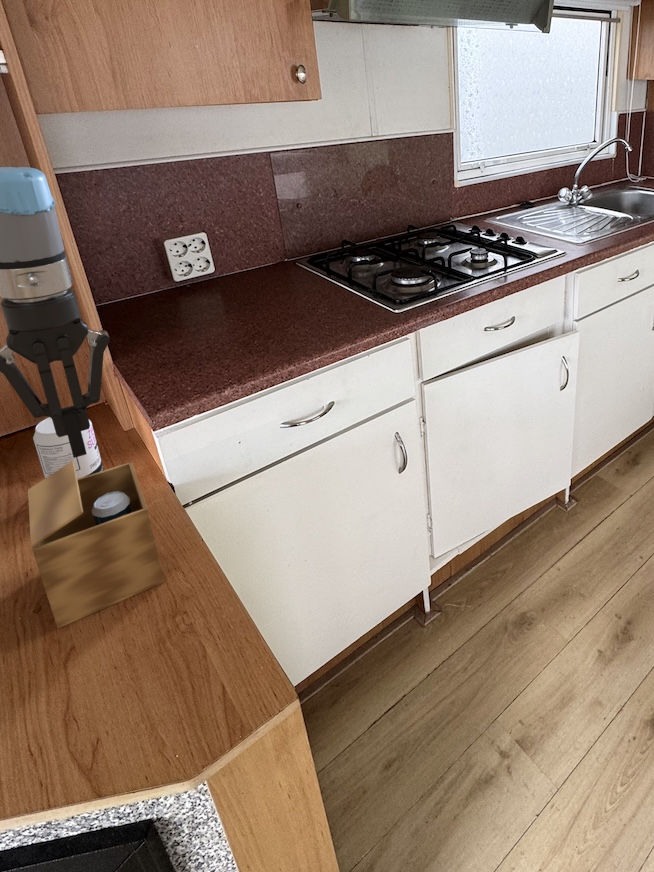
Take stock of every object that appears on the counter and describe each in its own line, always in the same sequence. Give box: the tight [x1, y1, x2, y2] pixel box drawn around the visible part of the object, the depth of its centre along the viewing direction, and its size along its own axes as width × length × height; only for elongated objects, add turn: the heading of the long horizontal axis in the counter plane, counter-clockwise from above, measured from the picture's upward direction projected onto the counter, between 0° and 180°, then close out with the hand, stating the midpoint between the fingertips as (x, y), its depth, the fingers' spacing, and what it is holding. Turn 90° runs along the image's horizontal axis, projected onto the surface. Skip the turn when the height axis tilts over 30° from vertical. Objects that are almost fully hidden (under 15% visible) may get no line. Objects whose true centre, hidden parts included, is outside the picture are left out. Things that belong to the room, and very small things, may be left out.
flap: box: [27, 461, 83, 547], centre depth 81 cm, size 6×14×1 cm, turn 39°
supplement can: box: [32, 417, 105, 479], centre depth 102 cm, size 8×8×15 cm
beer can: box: [92, 492, 132, 526], centre depth 87 cm, size 5×5×12 cm
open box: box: [31, 461, 165, 629], centre depth 86 cm, size 13×14×14 cm
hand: (79, 451), depth 81 cm, fingers closed
